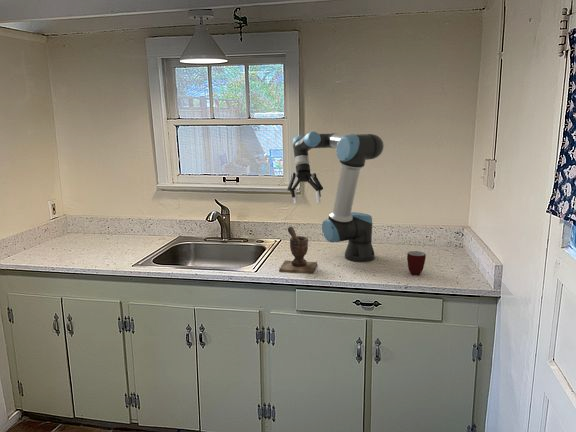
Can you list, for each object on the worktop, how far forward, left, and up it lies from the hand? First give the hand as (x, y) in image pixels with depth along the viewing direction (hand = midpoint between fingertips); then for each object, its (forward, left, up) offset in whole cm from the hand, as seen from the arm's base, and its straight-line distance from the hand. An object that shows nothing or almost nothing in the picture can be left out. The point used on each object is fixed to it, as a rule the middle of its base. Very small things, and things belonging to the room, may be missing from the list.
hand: (307, 203), depth 253 cm
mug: (-52, -32, -26) cm, 67 cm away
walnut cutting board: (-26, +15, -26) cm, 40 cm away
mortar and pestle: (-26, +15, -25) cm, 39 cm away
